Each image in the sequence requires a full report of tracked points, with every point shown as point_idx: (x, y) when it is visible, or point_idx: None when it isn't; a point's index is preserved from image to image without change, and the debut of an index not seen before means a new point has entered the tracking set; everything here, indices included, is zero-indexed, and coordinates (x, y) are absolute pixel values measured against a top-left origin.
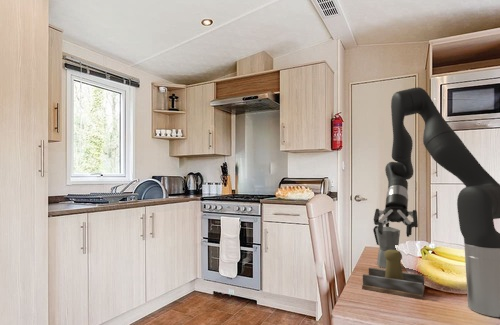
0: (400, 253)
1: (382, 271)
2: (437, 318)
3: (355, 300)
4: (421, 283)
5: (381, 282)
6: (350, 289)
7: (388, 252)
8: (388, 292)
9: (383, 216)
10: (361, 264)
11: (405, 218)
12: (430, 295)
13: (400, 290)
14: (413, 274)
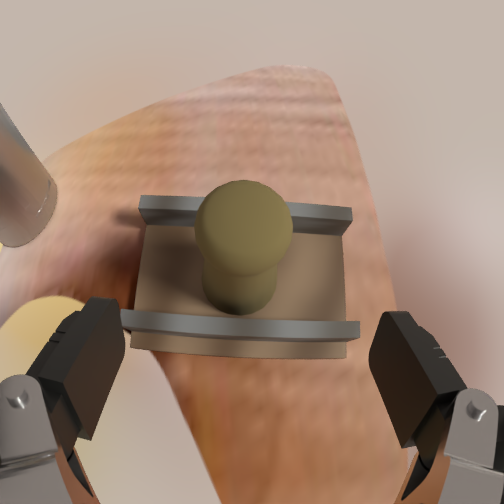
0: (199, 209)
1: (297, 321)
2: (142, 114)
3: (321, 129)
4: (141, 202)
5: None
6: (363, 196)
7: (266, 186)
8: None
9: (493, 476)
10: None
11: (27, 464)
12: (125, 254)
13: None
14: (160, 315)
